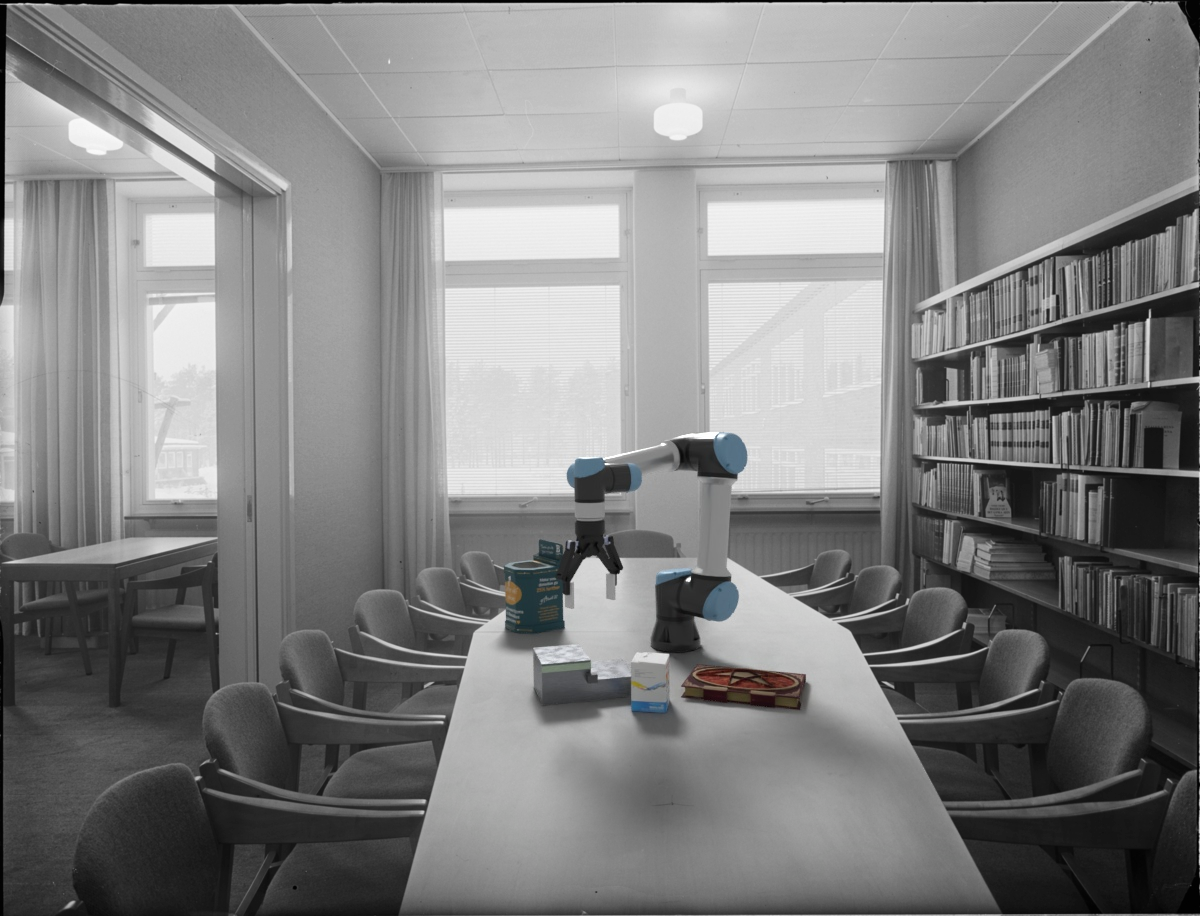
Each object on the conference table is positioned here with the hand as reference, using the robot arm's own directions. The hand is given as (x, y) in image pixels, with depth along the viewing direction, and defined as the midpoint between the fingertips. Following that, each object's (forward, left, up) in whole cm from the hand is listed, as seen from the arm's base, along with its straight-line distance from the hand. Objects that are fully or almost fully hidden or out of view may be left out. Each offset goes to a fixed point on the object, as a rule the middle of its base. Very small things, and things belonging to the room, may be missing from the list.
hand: (590, 603), depth 187 cm
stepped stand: (+2, 0, -22) cm, 22 cm away
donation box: (+6, -66, -23) cm, 70 cm away
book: (-37, +9, -23) cm, 45 cm away
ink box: (-11, +13, -23) cm, 28 cm away
